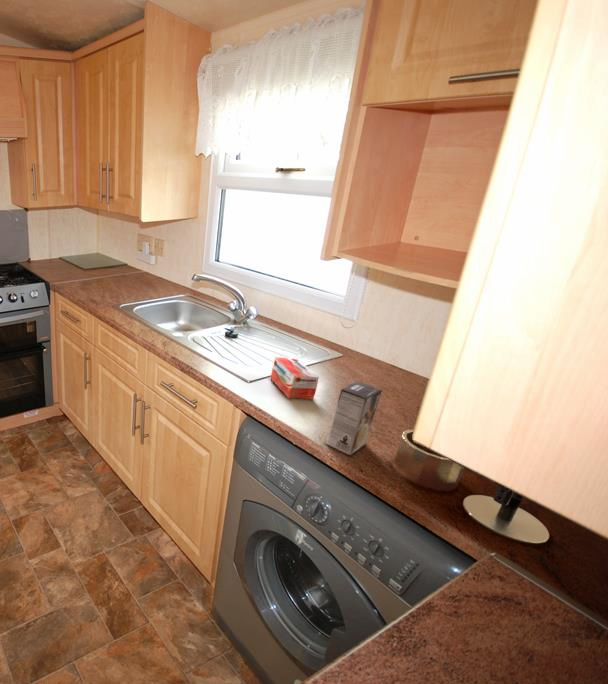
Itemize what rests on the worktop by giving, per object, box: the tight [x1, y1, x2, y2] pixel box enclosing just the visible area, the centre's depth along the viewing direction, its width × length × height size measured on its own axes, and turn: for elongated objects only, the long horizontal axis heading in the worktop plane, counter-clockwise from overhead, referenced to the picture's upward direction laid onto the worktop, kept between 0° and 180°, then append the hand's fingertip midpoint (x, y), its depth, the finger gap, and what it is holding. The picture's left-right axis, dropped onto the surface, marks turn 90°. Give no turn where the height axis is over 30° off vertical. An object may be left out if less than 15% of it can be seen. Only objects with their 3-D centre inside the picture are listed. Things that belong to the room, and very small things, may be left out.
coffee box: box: [326, 380, 383, 456], centre depth 115 cm, size 9×6×16 cm
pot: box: [392, 429, 466, 492], centre depth 106 cm, size 13×13×8 cm
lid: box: [462, 492, 550, 545], centre depth 92 cm, size 14×14×7 cm
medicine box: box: [270, 356, 320, 400], centre depth 146 cm, size 15×8×8 cm, turn 3°
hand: (511, 497), depth 92 cm, fingers open, 8 cm apart
